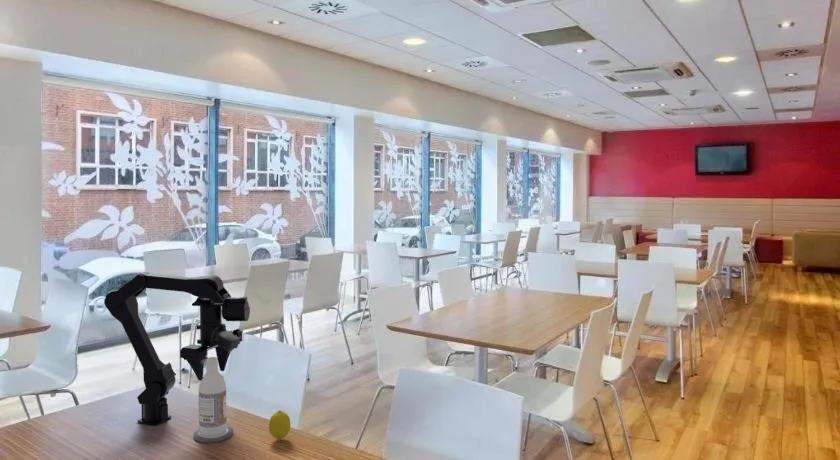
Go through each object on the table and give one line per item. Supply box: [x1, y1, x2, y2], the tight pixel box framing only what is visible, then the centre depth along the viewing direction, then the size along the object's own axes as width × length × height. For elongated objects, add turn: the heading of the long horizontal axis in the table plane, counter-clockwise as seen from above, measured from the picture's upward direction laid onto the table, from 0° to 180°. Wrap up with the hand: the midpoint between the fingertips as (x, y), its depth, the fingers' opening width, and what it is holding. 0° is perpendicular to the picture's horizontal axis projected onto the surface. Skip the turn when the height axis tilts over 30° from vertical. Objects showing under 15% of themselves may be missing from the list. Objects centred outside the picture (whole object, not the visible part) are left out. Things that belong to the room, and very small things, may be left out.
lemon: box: [268, 409, 291, 441], centre depth 159 cm, size 6×6×8 cm
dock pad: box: [193, 425, 234, 444], centre depth 161 cm, size 10×10×1 cm
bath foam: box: [198, 356, 228, 436], centre depth 160 cm, size 7×7×20 cm
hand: (211, 375), depth 170 cm, fingers open, 9 cm apart
